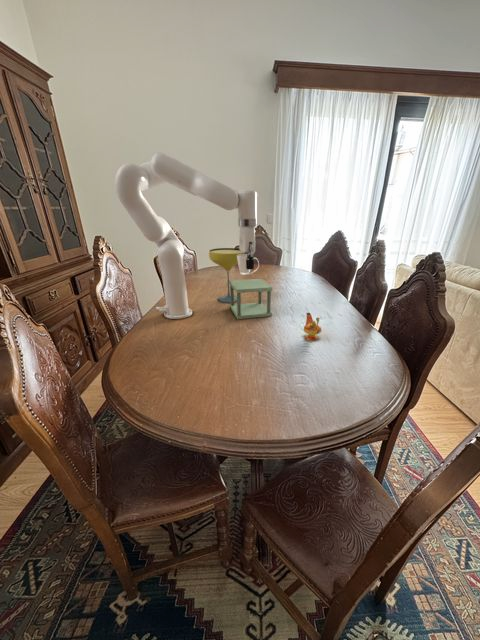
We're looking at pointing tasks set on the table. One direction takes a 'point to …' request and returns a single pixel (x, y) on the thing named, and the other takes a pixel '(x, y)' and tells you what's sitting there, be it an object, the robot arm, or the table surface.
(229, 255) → the cocktail glass
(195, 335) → the table surface
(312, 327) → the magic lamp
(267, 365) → the table surface
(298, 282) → the table surface
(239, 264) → the cup
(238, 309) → the shelf
